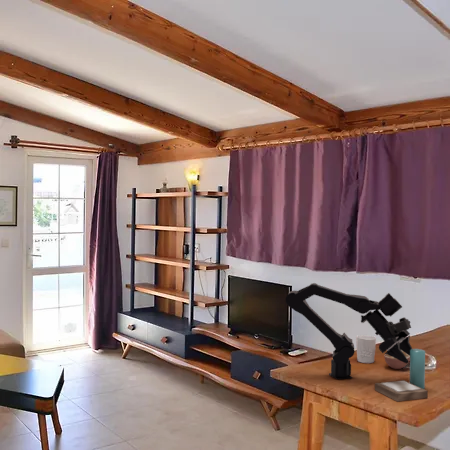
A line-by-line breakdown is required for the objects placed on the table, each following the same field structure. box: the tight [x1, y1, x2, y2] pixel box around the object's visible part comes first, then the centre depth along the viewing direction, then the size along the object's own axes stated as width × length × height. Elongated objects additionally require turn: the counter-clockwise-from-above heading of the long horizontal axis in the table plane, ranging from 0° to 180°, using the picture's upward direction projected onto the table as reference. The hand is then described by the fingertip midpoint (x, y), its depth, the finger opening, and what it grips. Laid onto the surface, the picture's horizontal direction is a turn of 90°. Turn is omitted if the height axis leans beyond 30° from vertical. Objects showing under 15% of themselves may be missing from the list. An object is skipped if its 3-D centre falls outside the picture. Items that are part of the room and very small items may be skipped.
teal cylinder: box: [409, 348, 426, 390], centre depth 185 cm, size 5×5×13 cm
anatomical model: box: [383, 350, 410, 370], centre depth 216 cm, size 23×10×5 cm, turn 157°
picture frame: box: [374, 379, 429, 402], centre depth 178 cm, size 12×12×3 cm
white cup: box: [355, 334, 377, 364], centre depth 219 cm, size 8×8×10 cm
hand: (411, 360), depth 187 cm, fingers open, 9 cm apart
